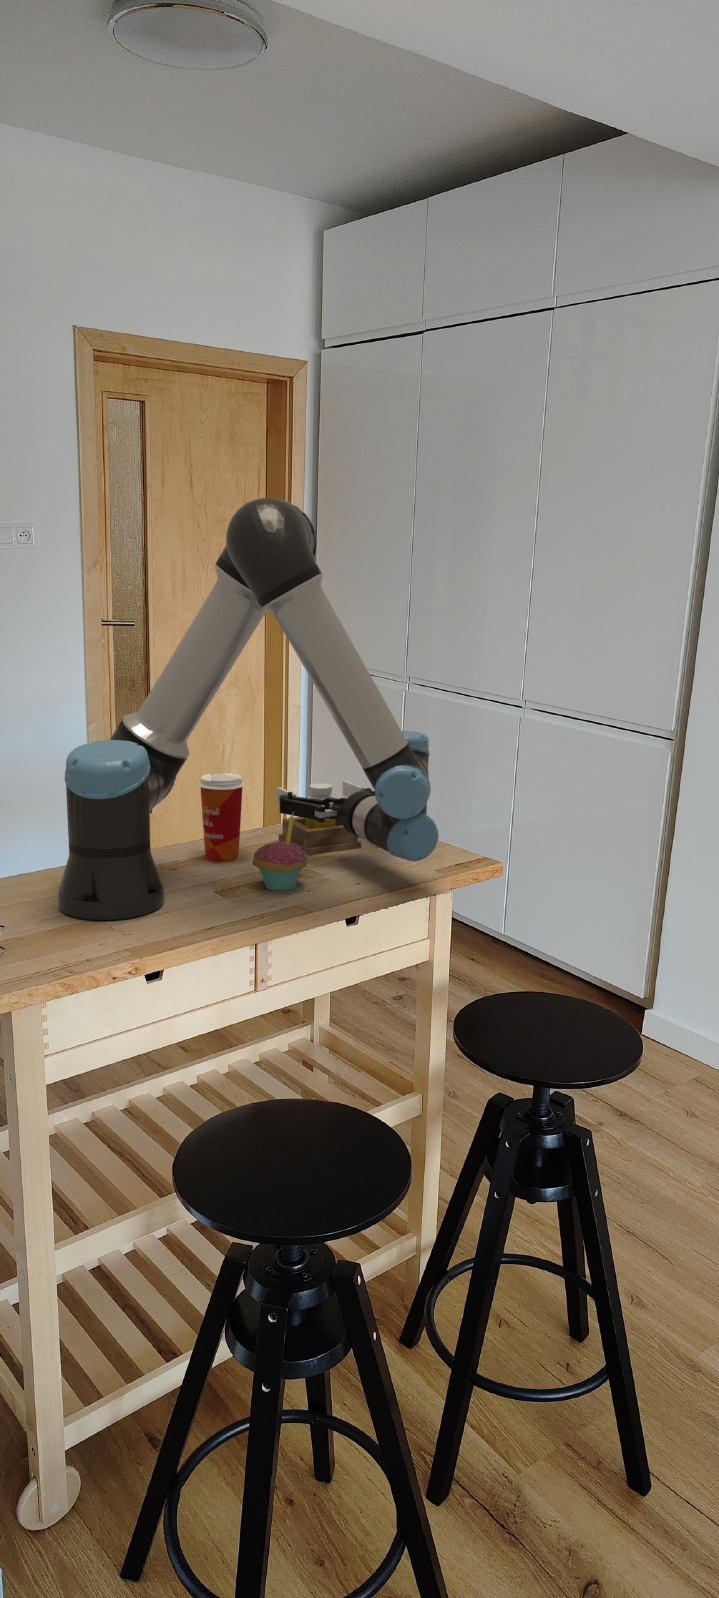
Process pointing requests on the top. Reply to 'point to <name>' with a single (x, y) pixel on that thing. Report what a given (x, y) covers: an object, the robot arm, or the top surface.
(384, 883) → the top surface
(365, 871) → the top surface
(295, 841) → the socket block
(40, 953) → the top surface
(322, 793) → the supplement bottle
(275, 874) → the cupcake
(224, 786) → the paper cup
